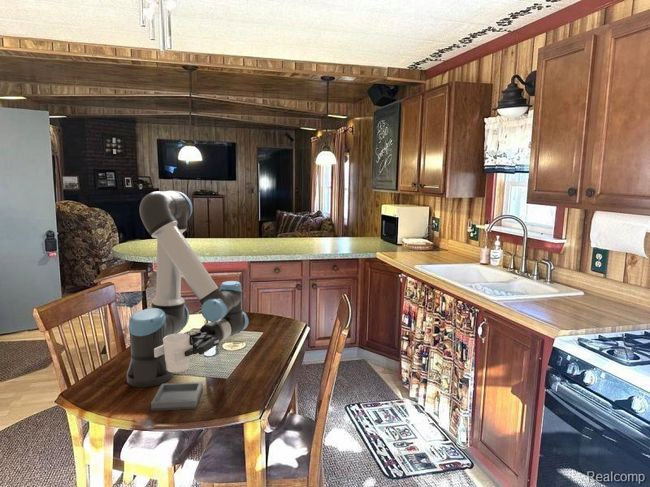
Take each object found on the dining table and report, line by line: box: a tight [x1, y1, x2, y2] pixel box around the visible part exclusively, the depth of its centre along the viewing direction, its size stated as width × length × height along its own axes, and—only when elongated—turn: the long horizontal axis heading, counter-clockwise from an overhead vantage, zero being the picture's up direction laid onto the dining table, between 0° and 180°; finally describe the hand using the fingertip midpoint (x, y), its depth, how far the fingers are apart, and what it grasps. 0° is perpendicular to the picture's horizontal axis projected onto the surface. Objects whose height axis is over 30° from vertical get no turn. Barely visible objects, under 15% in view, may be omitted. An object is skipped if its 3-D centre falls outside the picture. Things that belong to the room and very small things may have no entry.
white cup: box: [163, 332, 191, 373], centre depth 140 cm, size 8×8×10 cm
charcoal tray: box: [150, 381, 204, 412], centre depth 142 cm, size 13×13×2 cm
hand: (165, 355), depth 136 cm, fingers closed on white cup, 7 cm apart
